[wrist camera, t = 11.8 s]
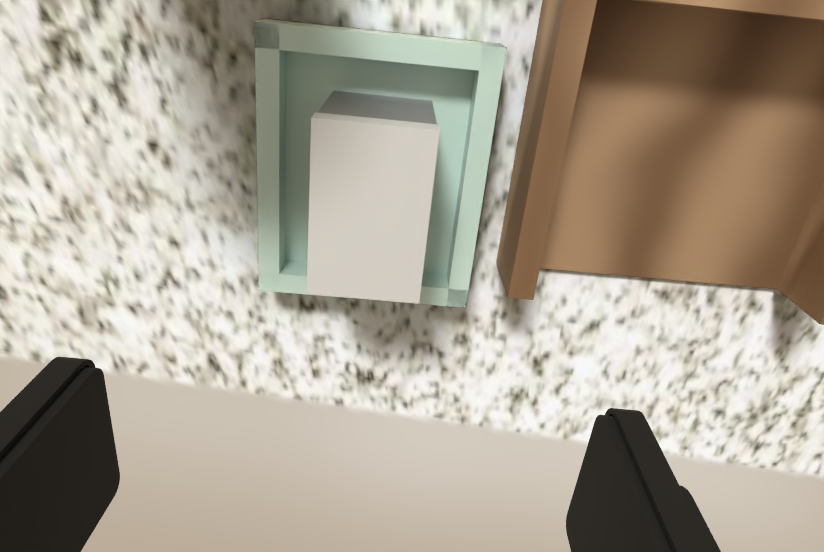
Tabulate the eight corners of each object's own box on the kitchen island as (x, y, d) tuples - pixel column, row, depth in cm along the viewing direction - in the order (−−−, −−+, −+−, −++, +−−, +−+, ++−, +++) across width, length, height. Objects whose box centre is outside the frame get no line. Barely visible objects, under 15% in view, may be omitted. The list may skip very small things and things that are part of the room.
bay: (918, 1, 26) (1000, 3, 22) (795, 288, 32) (844, 326, 29) (549, -41, 25) (573, -46, 22) (496, 262, 31) (507, 297, 28)
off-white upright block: (433, 99, 27) (439, 130, 21) (417, 242, 30) (419, 303, 24) (332, 89, 27) (311, 117, 21) (326, 234, 30) (306, 293, 24)
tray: (499, 43, 27) (506, 47, 25) (462, 287, 32) (465, 307, 30) (266, 18, 26) (254, 21, 24) (268, 271, 31) (258, 290, 30)
